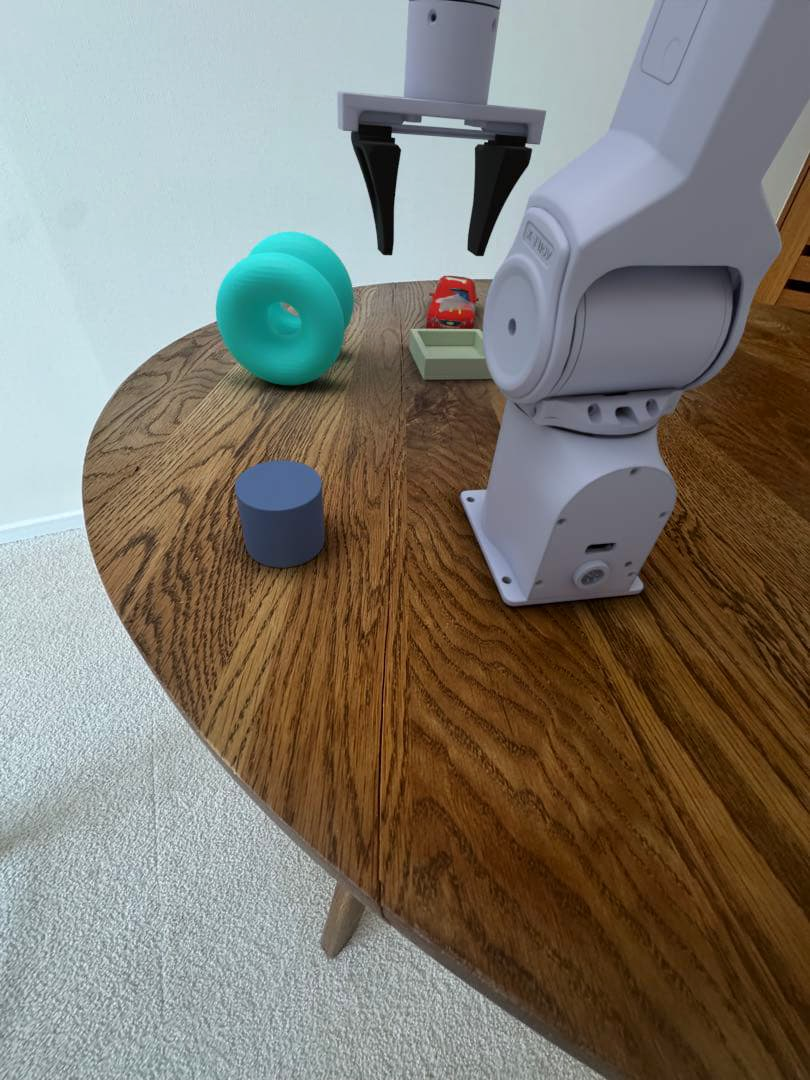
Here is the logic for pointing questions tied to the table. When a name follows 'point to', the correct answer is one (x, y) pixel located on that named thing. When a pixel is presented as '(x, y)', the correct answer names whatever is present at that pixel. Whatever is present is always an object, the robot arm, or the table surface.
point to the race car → (452, 304)
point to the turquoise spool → (268, 327)
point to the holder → (449, 353)
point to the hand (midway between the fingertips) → (431, 252)
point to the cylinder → (281, 512)
